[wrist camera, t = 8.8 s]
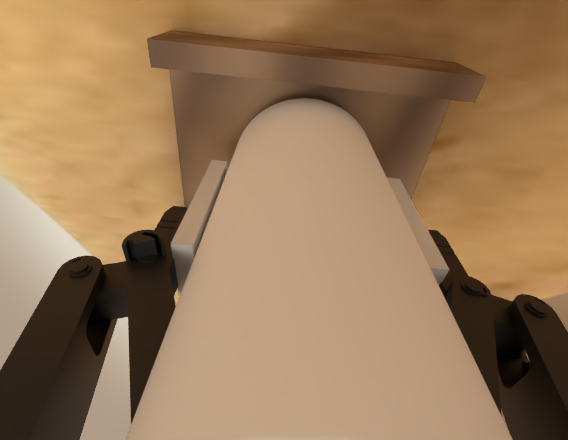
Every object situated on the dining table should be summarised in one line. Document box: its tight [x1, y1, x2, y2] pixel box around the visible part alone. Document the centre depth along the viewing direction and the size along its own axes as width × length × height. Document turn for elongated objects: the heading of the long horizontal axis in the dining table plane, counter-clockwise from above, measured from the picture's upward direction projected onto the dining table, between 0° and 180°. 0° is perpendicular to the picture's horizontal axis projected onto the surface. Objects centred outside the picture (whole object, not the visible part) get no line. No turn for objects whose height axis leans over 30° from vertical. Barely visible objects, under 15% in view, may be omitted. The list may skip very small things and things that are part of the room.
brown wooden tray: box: [147, 31, 486, 207], centre depth 20 cm, size 16×12×4 cm
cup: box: [126, 98, 513, 440], centre depth 13 cm, size 8×8×16 cm
